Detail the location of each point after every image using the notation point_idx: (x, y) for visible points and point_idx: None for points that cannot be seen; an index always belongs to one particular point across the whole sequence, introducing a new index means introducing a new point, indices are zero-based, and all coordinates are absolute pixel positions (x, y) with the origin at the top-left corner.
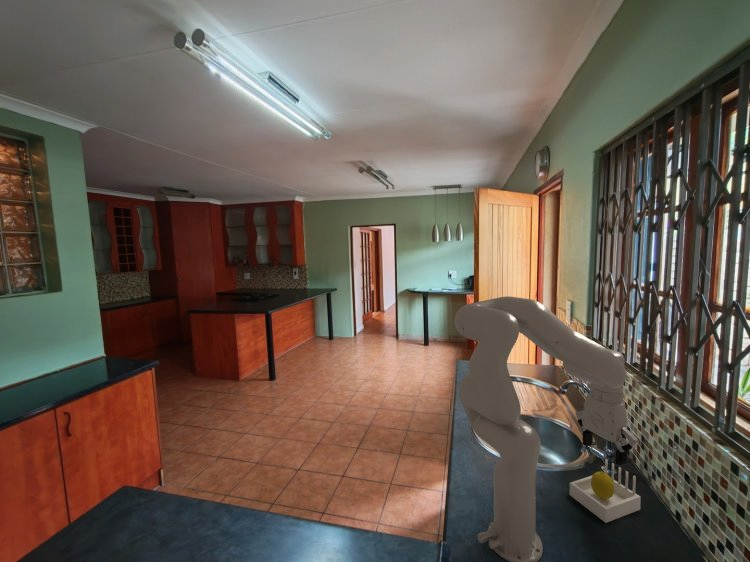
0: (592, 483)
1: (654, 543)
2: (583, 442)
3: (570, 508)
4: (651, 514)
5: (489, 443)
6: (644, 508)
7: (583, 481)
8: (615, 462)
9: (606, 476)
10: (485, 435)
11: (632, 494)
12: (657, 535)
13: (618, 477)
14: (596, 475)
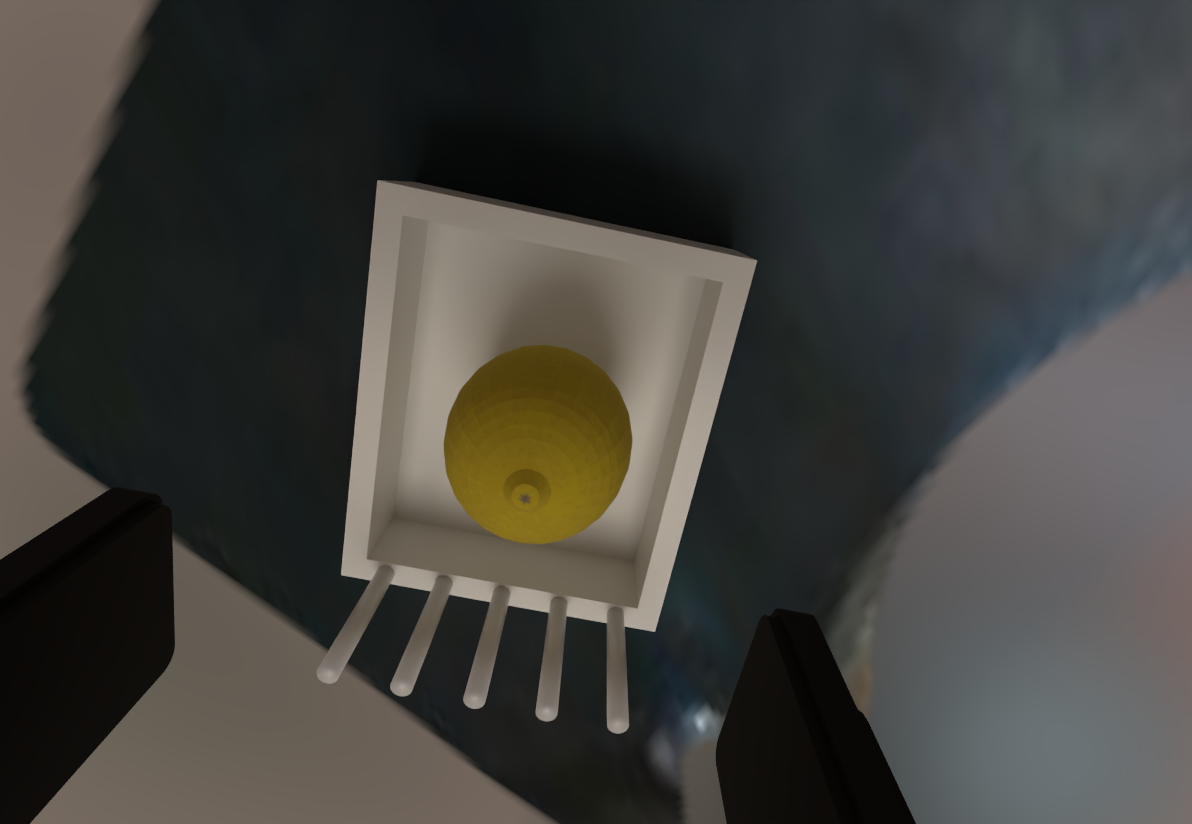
0: (591, 372)
1: (159, 277)
2: (808, 640)
3: (647, 92)
4: (321, 533)
5: None
6: None
7: (692, 395)
8: (156, 509)
9: (485, 479)
10: None
11: (392, 558)
12: (195, 370)
13: (497, 624)
14: (566, 429)
